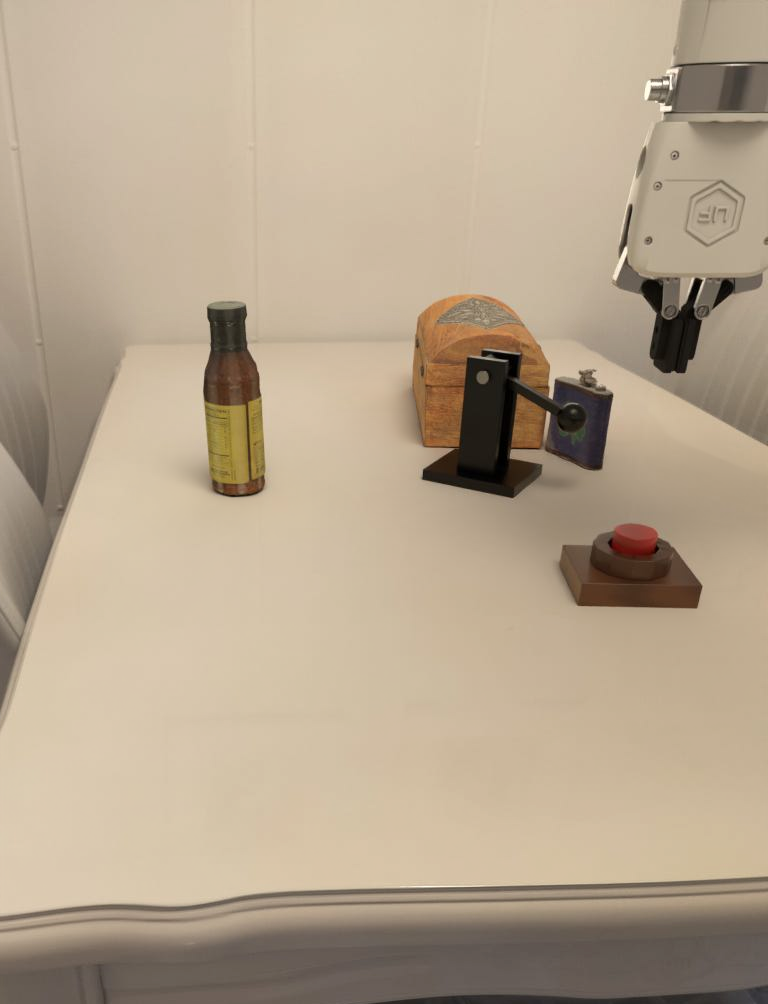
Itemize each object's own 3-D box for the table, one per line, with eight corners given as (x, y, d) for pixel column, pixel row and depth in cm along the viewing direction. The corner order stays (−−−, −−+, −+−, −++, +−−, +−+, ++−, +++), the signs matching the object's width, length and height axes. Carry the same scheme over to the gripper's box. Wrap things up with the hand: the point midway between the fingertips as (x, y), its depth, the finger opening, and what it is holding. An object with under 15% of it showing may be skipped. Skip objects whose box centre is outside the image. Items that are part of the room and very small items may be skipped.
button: (647, 541, 81) (651, 523, 80) (659, 558, 78) (663, 540, 77) (606, 540, 81) (609, 522, 80) (616, 558, 78) (620, 539, 77)
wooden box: (550, 450, 114) (567, 335, 107) (416, 447, 115) (424, 333, 108) (519, 388, 140) (531, 292, 133) (410, 386, 141) (417, 290, 134)
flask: (540, 448, 115) (552, 361, 109) (559, 445, 116) (572, 359, 110) (590, 471, 107) (605, 379, 102) (609, 468, 108) (626, 376, 103)
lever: (581, 434, 99) (597, 409, 97) (572, 442, 97) (587, 416, 95) (481, 375, 103) (494, 349, 101) (470, 381, 100) (483, 355, 98)
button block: (668, 568, 85) (677, 528, 83) (697, 609, 78) (708, 566, 76) (559, 566, 85) (565, 526, 83) (577, 606, 78) (585, 563, 76)
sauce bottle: (250, 475, 107) (246, 295, 97) (275, 492, 102) (273, 305, 92) (199, 484, 104) (188, 301, 94) (222, 502, 99) (213, 311, 89)
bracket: (541, 474, 107) (558, 353, 100) (513, 498, 100) (529, 370, 93) (454, 457, 112) (464, 341, 105) (421, 479, 105) (430, 356, 99)
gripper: (626, 97, 60) (582, 380, 69) (862, 96, 59) (786, 382, 68) (599, 99, 66) (562, 357, 76) (810, 98, 66) (747, 359, 75)
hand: (668, 368), depth 72 cm, fingers closed
